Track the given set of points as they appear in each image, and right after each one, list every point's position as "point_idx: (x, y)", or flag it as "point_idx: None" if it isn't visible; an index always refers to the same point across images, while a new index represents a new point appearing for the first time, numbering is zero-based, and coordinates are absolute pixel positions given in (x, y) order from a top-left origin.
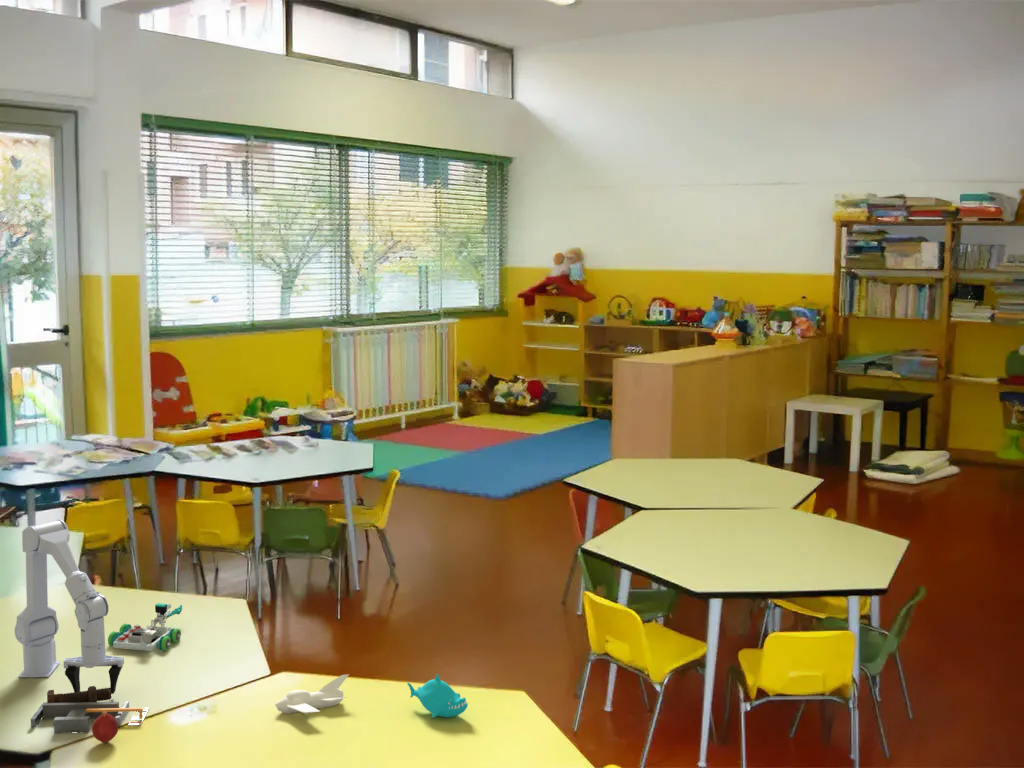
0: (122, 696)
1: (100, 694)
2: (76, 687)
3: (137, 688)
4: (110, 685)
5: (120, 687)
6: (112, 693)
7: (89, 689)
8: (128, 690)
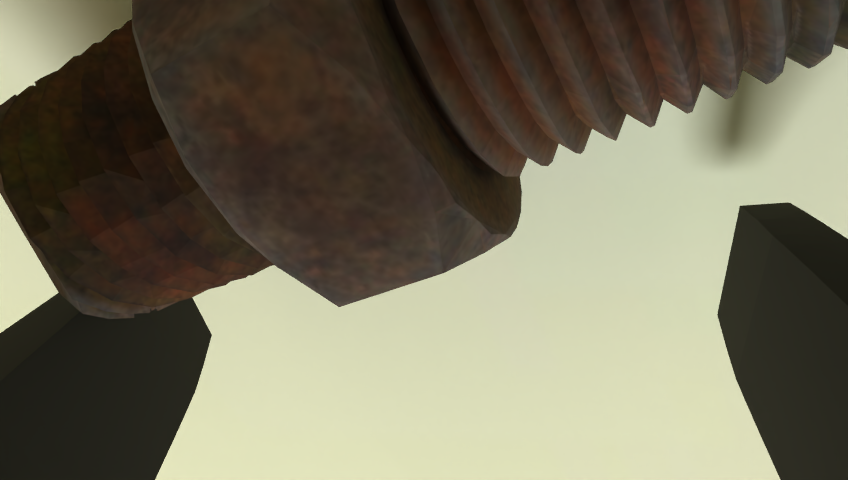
0: None
1: (124, 67)
2: (828, 300)
3: None
4: (41, 347)
5: (293, 435)
6: None
7: (341, 81)
8: None
